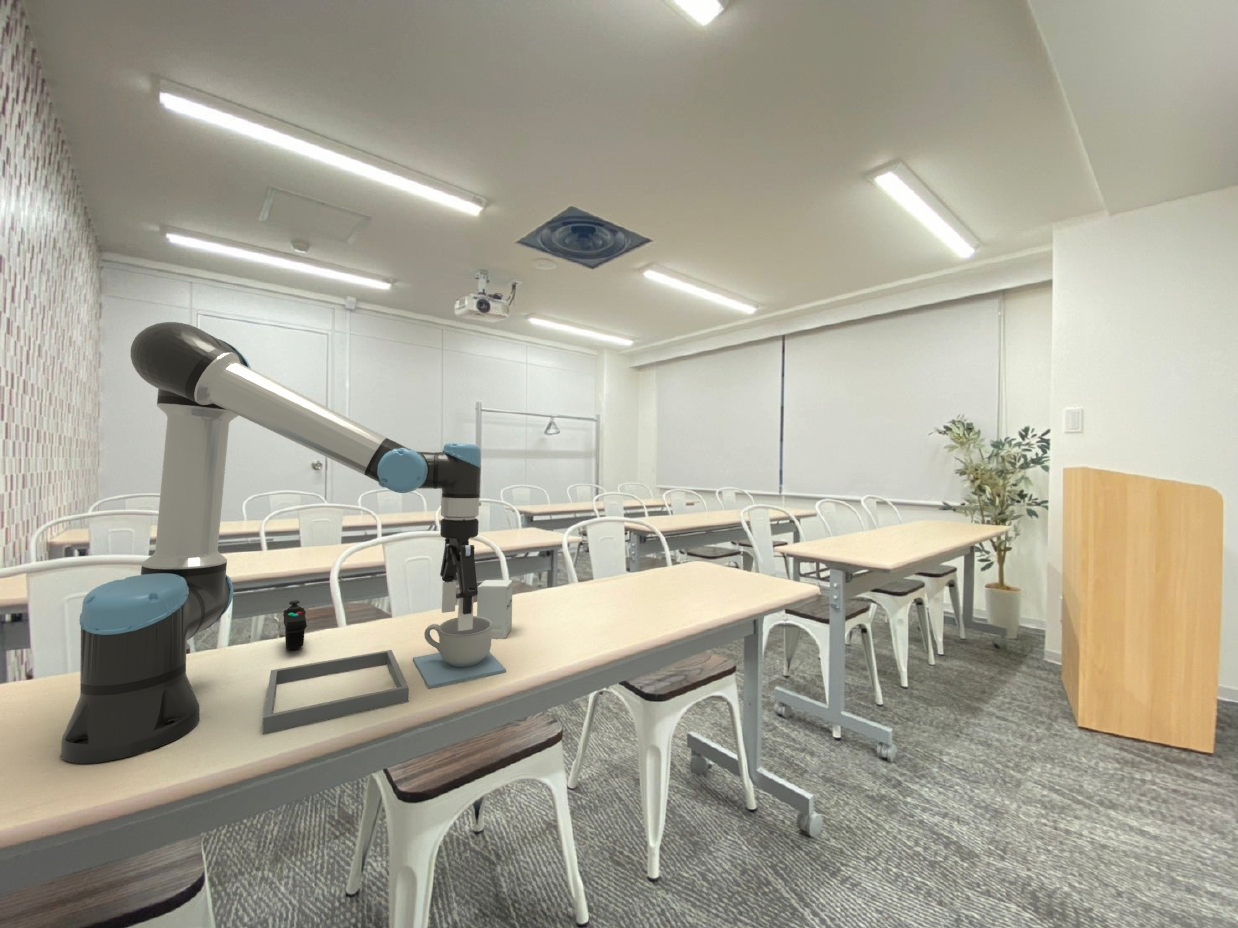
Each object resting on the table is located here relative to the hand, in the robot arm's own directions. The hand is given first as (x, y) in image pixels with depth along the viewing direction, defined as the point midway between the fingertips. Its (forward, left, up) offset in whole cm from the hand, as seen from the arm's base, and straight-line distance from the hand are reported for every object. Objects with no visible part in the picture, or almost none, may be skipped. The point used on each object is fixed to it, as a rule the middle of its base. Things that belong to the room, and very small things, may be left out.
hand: (456, 620), depth 104 cm
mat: (0, 0, -10) cm, 10 cm away
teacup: (+1, +1, -9) cm, 9 cm away
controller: (-29, +28, -10) cm, 41 cm away
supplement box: (+13, +16, -10) cm, 23 cm away
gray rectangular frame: (-22, -1, -10) cm, 24 cm away
